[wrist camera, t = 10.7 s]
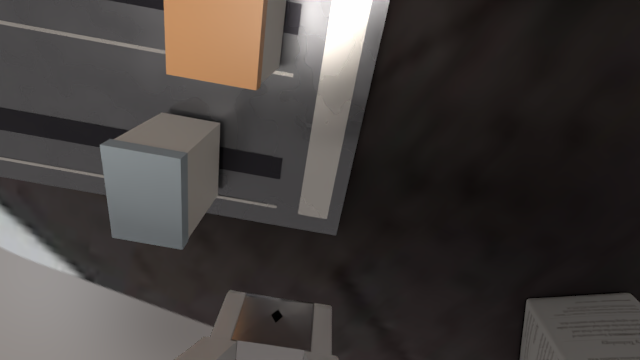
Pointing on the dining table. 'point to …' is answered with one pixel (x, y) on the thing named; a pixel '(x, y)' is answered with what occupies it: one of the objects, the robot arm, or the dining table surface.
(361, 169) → the dining table surface
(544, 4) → the dining table surface
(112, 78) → the console
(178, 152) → the fader
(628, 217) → the dining table surface
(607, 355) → the skincare box
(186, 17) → the fader
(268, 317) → the robot arm
